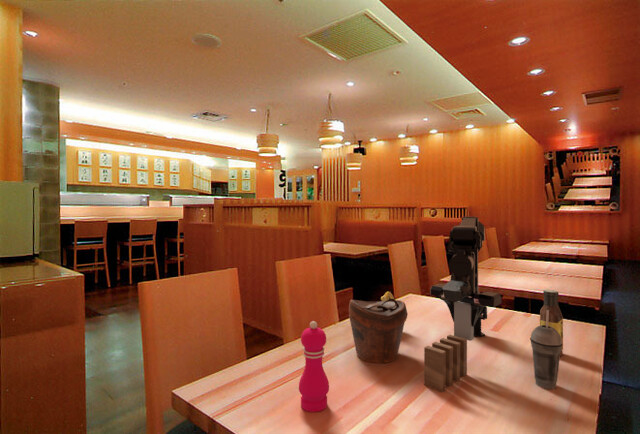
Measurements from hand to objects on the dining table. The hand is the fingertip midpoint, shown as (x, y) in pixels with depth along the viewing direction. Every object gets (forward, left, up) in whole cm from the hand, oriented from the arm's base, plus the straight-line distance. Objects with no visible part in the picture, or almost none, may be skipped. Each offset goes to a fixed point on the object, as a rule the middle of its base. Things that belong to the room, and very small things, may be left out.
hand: (463, 324), depth 103 cm
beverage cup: (+11, +17, -13) cm, 24 cm away
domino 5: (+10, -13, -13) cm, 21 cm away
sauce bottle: (-8, +33, -13) cm, 36 cm away
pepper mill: (+15, -44, -13) cm, 49 cm away
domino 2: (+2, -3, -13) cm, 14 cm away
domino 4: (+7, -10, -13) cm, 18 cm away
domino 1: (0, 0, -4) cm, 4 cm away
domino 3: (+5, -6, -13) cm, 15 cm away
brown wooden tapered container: (-12, -22, -13) cm, 28 cm away
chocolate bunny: (-33, -13, -13) cm, 38 cm away
